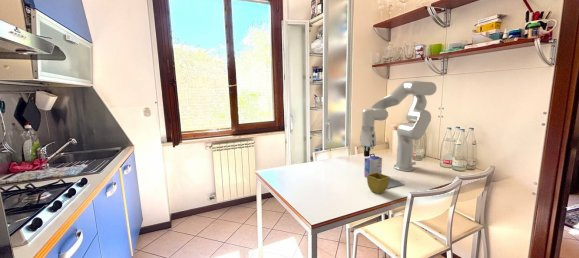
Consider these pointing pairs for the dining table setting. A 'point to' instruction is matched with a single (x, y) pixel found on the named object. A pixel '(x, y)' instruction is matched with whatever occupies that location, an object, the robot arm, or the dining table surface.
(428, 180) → the dining table surface
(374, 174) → the flower pot
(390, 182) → the mat
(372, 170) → the ink cartridge box
